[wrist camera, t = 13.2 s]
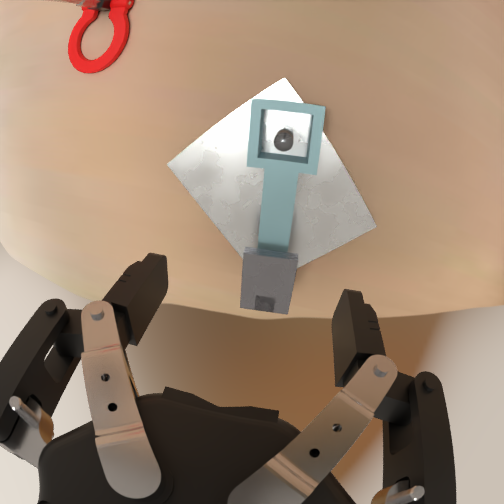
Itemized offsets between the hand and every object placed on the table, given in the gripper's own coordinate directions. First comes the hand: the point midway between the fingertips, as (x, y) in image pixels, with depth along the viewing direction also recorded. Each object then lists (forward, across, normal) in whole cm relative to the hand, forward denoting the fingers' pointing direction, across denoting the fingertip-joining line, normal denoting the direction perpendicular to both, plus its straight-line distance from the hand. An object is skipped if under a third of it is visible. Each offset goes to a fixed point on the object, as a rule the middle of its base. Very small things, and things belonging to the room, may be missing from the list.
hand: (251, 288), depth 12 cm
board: (+18, 0, +2) cm, 19 cm away
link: (+18, 0, +2) cm, 18 cm away
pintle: (+18, 0, -4) cm, 19 cm away
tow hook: (+19, +22, -16) cm, 33 cm away
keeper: (+18, -1, +9) cm, 21 cm away
